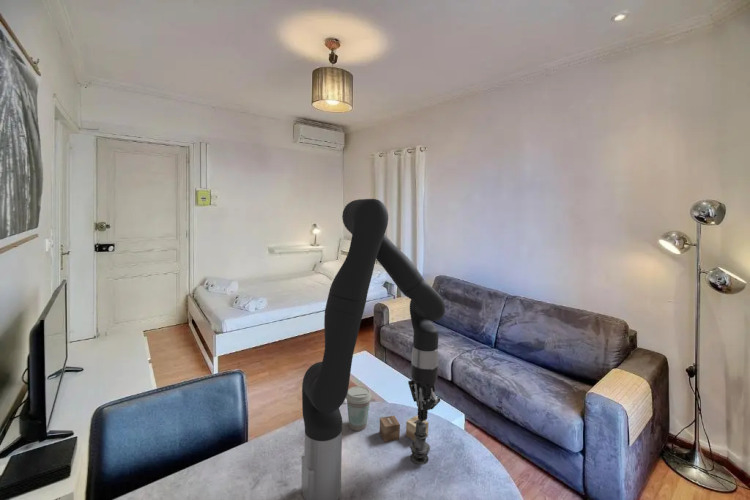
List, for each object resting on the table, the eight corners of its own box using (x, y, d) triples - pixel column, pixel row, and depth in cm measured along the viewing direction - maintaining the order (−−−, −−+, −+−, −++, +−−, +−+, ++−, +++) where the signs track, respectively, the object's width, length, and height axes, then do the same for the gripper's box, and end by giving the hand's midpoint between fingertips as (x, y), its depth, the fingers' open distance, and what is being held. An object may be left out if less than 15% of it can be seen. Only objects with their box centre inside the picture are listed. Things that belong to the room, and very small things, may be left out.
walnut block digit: (384, 441, 107) (385, 426, 107) (379, 432, 112) (380, 417, 111) (399, 439, 109) (399, 424, 108) (393, 429, 113) (394, 415, 113)
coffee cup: (341, 430, 112) (341, 395, 111) (350, 416, 120) (351, 383, 119) (365, 435, 110) (366, 400, 108) (373, 421, 118) (374, 387, 117)
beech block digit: (417, 443, 107) (418, 428, 106) (405, 435, 111) (406, 420, 110) (427, 436, 110) (428, 421, 110) (416, 429, 114) (416, 414, 114)
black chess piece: (429, 467, 97) (431, 427, 96) (408, 463, 98) (410, 423, 97) (430, 453, 103) (431, 415, 101) (410, 449, 104) (412, 412, 103)
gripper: (401, 355, 102) (399, 411, 103) (427, 374, 90) (425, 436, 92) (421, 351, 105) (419, 405, 107) (450, 369, 93) (447, 429, 95)
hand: (422, 419), depth 99 cm, fingers closed
